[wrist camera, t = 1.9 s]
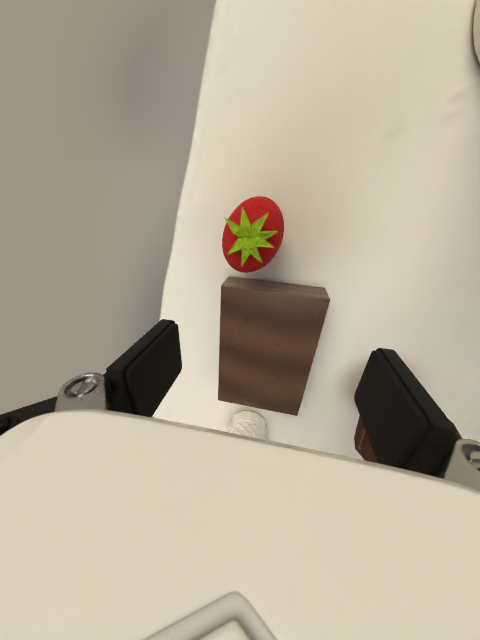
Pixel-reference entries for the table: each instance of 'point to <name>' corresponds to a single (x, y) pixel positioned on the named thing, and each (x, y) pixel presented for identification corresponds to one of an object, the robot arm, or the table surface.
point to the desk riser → (268, 342)
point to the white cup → (248, 425)
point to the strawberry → (253, 234)
